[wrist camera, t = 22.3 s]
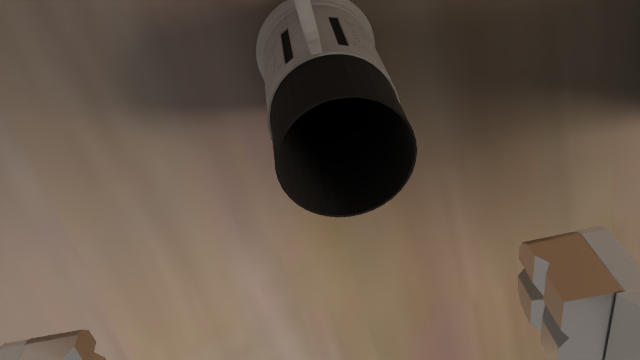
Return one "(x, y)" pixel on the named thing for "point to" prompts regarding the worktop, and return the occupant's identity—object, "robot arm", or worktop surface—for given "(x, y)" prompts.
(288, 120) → the glass holder
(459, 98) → the worktop surface
